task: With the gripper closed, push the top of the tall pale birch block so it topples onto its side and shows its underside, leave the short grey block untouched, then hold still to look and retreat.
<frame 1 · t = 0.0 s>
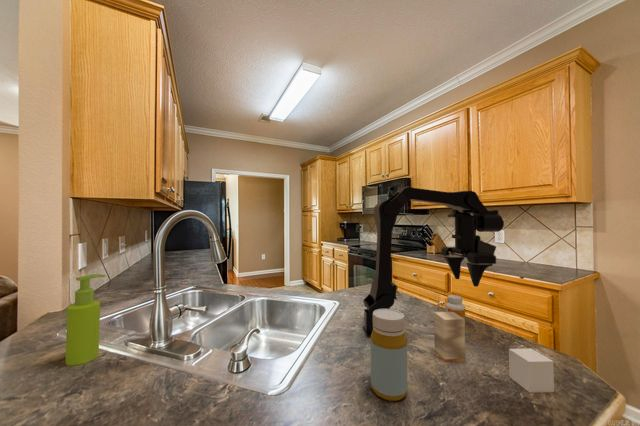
hand: (466, 282, 77), 15 cm above the countertop, tool pointing down, fingers open, 9 cm apart
bottle: (388, 391, 50), on the countertop
grey block: (530, 384, 52), on the countertop
soap dispenser: (85, 358, 61), on the countertop
birch block: (449, 356, 62), on the countertop
supplement bottle: (455, 328, 79), on the countertop
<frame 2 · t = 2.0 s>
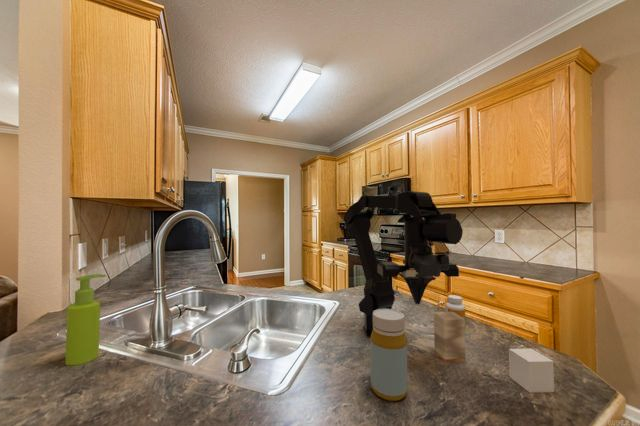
hand: (417, 303, 62), 13 cm above the countertop, tool pointing down, fingers closed
nothing on the countertop moved.
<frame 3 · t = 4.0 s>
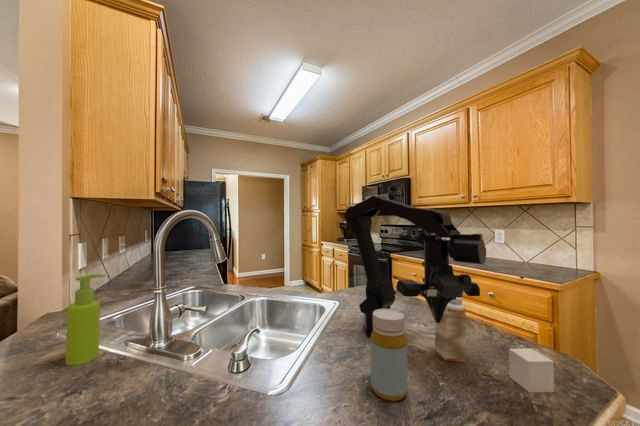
hand: (437, 322, 62), 8 cm above the countertop, tool pointing down, fingers closed
birch block: (449, 355, 62), on the countertop, touching gripper
everything else where it was.
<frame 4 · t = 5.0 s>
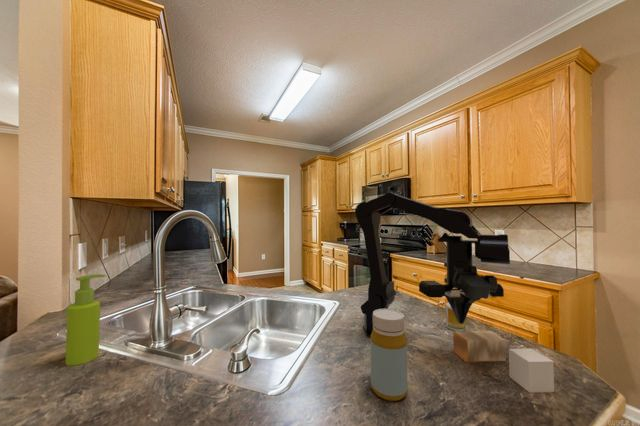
hand: (460, 323, 63), 8 cm above the countertop, tool pointing down, fingers closed
birch block: (459, 345, 62), point 2 cm above the countertop, tilted 90°
everything else where it was.
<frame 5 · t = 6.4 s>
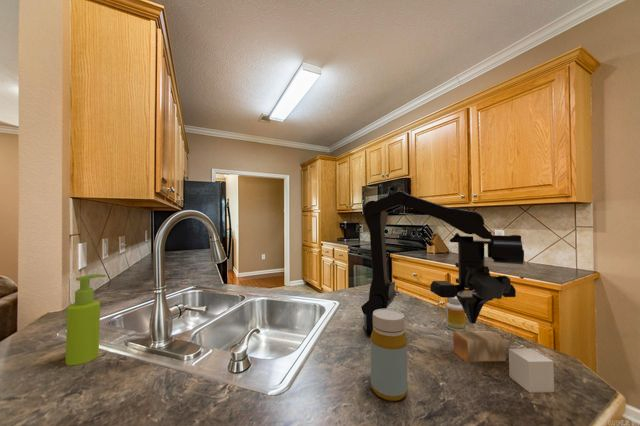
hand: (472, 323, 63), 8 cm above the countertop, tool pointing down, fingers closed
nothing on the countertop moved.
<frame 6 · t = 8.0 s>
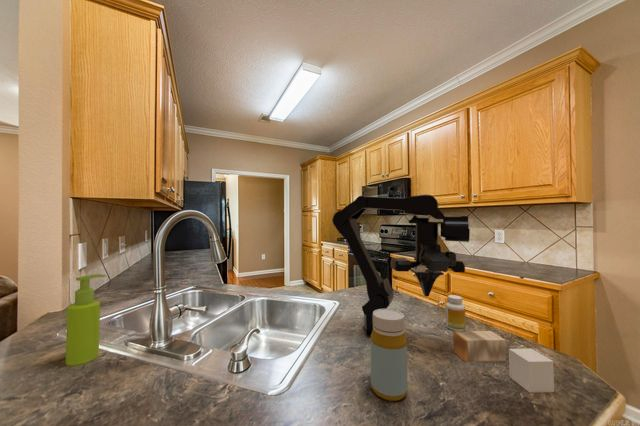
hand: (426, 296, 69), 13 cm above the countertop, tool pointing down, fingers closed
nothing on the countertop moved.
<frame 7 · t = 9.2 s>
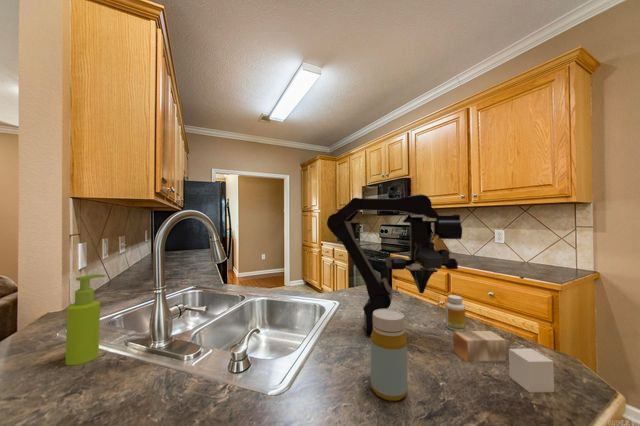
hand: (421, 293, 72), 13 cm above the countertop, tool pointing down, fingers closed
nothing on the countertop moved.
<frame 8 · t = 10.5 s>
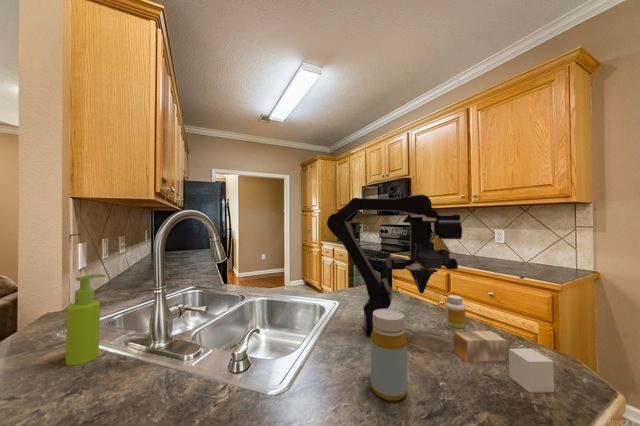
hand: (421, 293, 72), 13 cm above the countertop, tool pointing down, fingers closed
nothing on the countertop moved.
at the end: birch block tilted 90°; birch block inside the target area (1.5 cm from its centre), point 2.4 cm above the countertop; grey block moved 0.1 cm from its start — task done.
